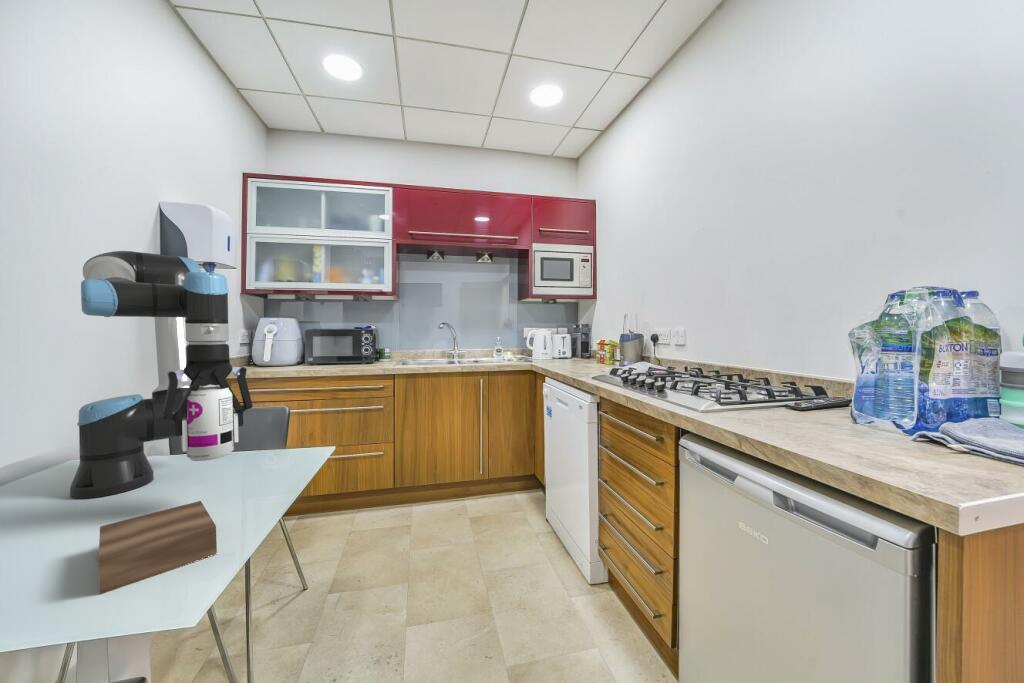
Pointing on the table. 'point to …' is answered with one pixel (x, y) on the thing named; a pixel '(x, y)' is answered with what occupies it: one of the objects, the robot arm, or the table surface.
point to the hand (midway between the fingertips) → (210, 445)
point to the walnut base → (154, 544)
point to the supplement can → (209, 423)
